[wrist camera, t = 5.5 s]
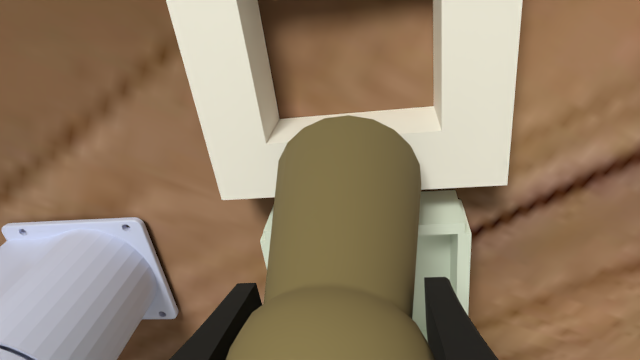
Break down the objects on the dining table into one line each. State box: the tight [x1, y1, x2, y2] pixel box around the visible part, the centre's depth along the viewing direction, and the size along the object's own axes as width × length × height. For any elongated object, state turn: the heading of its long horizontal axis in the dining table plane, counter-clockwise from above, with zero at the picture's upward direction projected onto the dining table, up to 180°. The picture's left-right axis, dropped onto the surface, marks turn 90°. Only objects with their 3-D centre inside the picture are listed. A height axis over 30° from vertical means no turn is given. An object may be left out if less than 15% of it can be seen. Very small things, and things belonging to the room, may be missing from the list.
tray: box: [260, 190, 471, 342], centre depth 25 cm, size 10×10×3 cm
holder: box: [166, 0, 523, 200], centre depth 18 cm, size 13×13×3 cm
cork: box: [226, 115, 435, 360], centre depth 14 cm, size 6×6×11 cm
